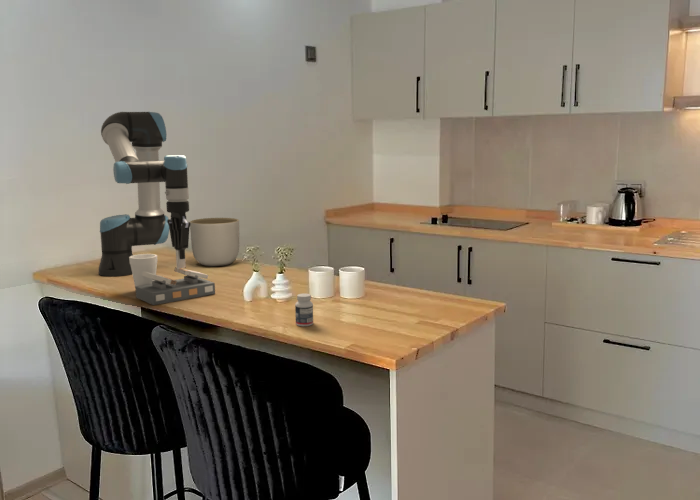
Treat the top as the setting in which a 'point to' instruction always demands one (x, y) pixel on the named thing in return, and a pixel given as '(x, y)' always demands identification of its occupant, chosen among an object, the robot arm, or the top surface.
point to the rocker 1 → (159, 278)
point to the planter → (215, 240)
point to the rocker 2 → (191, 273)
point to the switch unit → (174, 290)
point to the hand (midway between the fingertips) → (181, 267)
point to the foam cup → (143, 267)
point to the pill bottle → (304, 310)
